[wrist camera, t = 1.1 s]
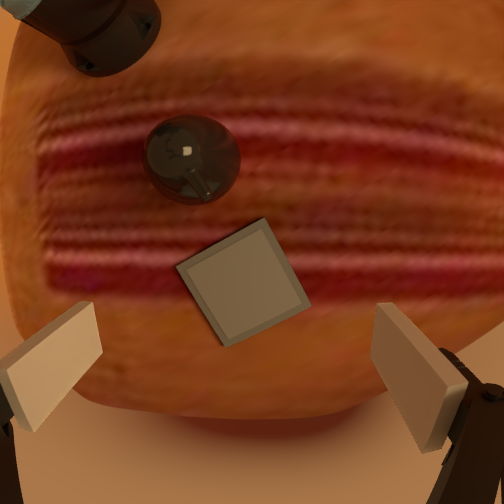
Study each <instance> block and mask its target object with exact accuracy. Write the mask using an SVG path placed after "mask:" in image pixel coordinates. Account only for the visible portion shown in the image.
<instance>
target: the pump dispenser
mask: <svg viewBox="0 0 504 504" xmlns="http://www.w3.org/2000/svg"><path fill="white" fill-rule="evenodd" d="M142 163H143V167H144V170H145V173H146V175H147V177H148V179H149V180H150V182H151V183H152V184H153V186H154V187H155V188H156V189H157V190H158V191H159V192H160V193H161V194H163V195H164V196H165V197H167V198H169V199H170V200H172V201H175V202H177V203H180V204H183V205H189V206H199V205H205V204H209V203H211V202H214V201H216V200H218V199H219V198H221V197H222V196H224V195H225V194H226V193H227V192H228V191H229V190H230V189H231V187H232V186H233V185H234V183H235V181H236V179H237V177H238V174H239V171H240V165H241V155H240V150H239V146H238V144H237V141H236V139H235V138H234V136H233V135H232V133H231V132H230V131H229V130H228V129H227V128H226V127H225V126H224V125H222V124H221V123H219V122H217V121H215V120H213V119H211V118H208V117H205V116H201V115H195V114H183V115H177V116H174V117H171V118H168V119H166V120H164V121H162V122H161V123H159V124H158V125H157V126H156V127H155V128H154V129H153V130H152V131H151V132H150V133H149V135H148V136H147V138H146V140H145V143H144V146H143V150H142Z"/></svg>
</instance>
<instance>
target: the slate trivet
mask: <svg viewBox="0 0 504 504" xmlns="http://www.w3.org/2000/svg"><path fill="white" fill-rule="evenodd" d="M176 268H177V270H178V271H179V273H180V275H181V276H182V278H183V280H184V282H185V283H186V285H187V287H188V288H189V290H190V292H191V293H192V295H193V296H194V298H195V300H196V301H197V303H198V305H199V306H200V308H201V310H202V311H203V313H204V314H205V316H206V318H207V319H208V321H209V322H210V324H211V326H212V327H213V329H214V330H215V332H216V333H217V335H218V336H219V338H220V340H221V341H222V343H223V344H224V346H225V347H229V346H231V345H233V344H235V343H237V342H239V341H242V340H244V339H246V338H248V337H250V336H252V335H254V334H256V333H259V332H261V331H263V330H265V329H267V328H269V327H271V326H273V325H275V324H277V323H279V322H281V321H283V320H285V319H287V318H289V317H291V316H293V315H295V314H297V313H299V312H301V311H303V310H305V309H307V308H309V307H311V306H312V305H311V303H310V301H309V299H308V297H307V295H306V294H305V292H304V290H303V288H302V286H301V284H300V282H299V280H298V278H297V277H296V275H295V273H294V271H293V269H292V267H291V265H290V263H289V262H288V260H287V258H286V256H285V254H284V252H283V250H282V249H281V247H280V245H279V243H278V241H277V239H276V237H275V236H274V234H273V232H272V230H271V228H270V226H269V225H268V223H267V221H266V219H265V217H264V218H262V219H260V220H258V221H256V222H254V223H253V224H251V225H249V226H247V227H245V228H243V229H242V230H240V231H238V232H236V233H234V234H232V235H231V236H229V237H227V238H225V239H223V240H222V241H220V242H218V243H216V244H214V245H213V246H211V247H209V248H207V249H205V250H204V251H202V252H200V253H198V254H196V255H195V256H193V257H191V258H189V259H188V260H186V261H184V262H182V263H180V264H179V265H177V266H176Z"/></svg>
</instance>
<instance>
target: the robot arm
mask: <svg viewBox="0 0 504 504" xmlns="http://www.w3.org/2000/svg"><path fill="white" fill-rule="evenodd" d="M0 5H1V7H2V8H4V9H5V10H7V11H8V12H9V13H11V14H12V15H13V17H14V18H15V19H18V20H20V21H22V22H24V23H26V24H28V25H29V26H31V27H33V28H35V29H36V30H38V31H40V32H41V33H43V34H45V35H47V36H48V37H50V38H52V39H53V40H55V41H57V42H58V43H60V45H61V47H62V49H63V50H64V52H65V54H66V56H67V58H68V60H69V62H70V63H71V64H72V65H73V66H74V67H75V68H76V69H78V70H79V71H81V72H83V73H84V74H87V75H89V76H94V77H102V76H109V75H112V74H115V73H118V72H120V71H122V70H124V69H126V68H128V67H129V66H131V65H132V64H134V63H135V62H136V61H138V60H139V59H140V58H141V57H142V56H143V55H144V54H145V53H146V52H147V51H148V50H149V48H150V47H151V46H152V44H153V43H154V41H155V39H156V37H157V35H158V33H159V30H160V26H161V13H160V10H159V8H158V6H157V5H156V3H155V1H154V0H0ZM102 353H103V351H102V346H101V342H100V337H99V332H98V327H97V322H96V317H95V312H94V306H93V302H84V301H80V302H78V303H77V304H75V305H74V306H73V307H71V308H70V309H68V310H67V311H66V312H64V313H63V314H61V315H60V316H59V317H57V318H56V319H54V320H53V321H52V322H50V323H49V324H47V325H46V326H45V327H43V328H42V329H41V330H39V331H38V332H37V333H35V334H34V335H33V336H31V337H30V338H28V339H27V340H26V341H24V342H23V343H22V344H21V345H19V346H18V347H17V348H16V349H14V350H13V351H11V352H10V353H9V354H7V355H6V356H5V357H3V358H2V359H1V360H0V504H24V503H23V498H22V493H21V488H20V482H19V476H18V469H17V462H16V455H15V446H14V434H13V427H12V424H11V422H10V419H11V418H12V417H13V416H15V418H16V420H17V422H18V424H19V426H20V427H21V428H23V429H26V430H28V431H30V432H33V433H34V432H35V431H36V430H37V428H38V427H39V426H40V425H41V424H42V423H43V421H44V420H45V419H46V418H47V417H48V415H49V414H50V413H51V412H52V411H53V409H54V408H55V407H56V406H57V405H58V404H59V402H60V401H61V400H62V399H63V398H64V396H65V395H66V394H67V393H68V392H69V391H70V389H71V388H72V387H73V386H74V385H75V384H76V382H77V381H78V380H79V379H80V378H81V377H82V376H83V374H84V373H85V372H86V371H87V370H88V369H89V368H90V366H91V365H92V364H93V363H94V362H95V361H96V360H97V359H98V357H99V356H100V355H101V354H102ZM370 359H371V360H372V362H373V364H374V366H375V367H376V369H377V371H378V373H379V374H380V376H381V378H382V380H383V382H384V383H385V385H386V387H387V389H388V391H389V392H390V394H391V396H392V398H393V400H394V402H395V403H396V405H397V407H398V409H399V411H400V413H401V415H402V417H403V418H404V420H405V422H406V424H407V426H408V428H409V430H410V432H411V434H412V435H413V437H414V439H415V441H416V443H417V445H418V447H419V449H420V451H421V453H422V454H423V453H427V452H431V451H435V450H439V449H442V446H443V444H444V442H445V440H446V438H447V436H448V437H449V439H450V440H451V442H452V445H451V447H450V449H449V451H448V453H447V455H446V457H445V459H444V461H443V463H442V465H443V467H442V469H441V472H440V474H439V476H438V479H437V481H436V483H435V486H434V488H433V490H432V492H431V494H430V497H429V499H428V501H427V503H426V504H494V502H495V498H496V494H497V490H498V486H499V481H500V478H501V497H502V504H504V388H503V387H502V386H499V385H496V384H491V383H486V384H482V383H481V382H480V380H479V379H478V378H477V377H476V376H475V375H474V374H473V373H472V372H471V371H470V370H469V369H468V368H467V367H465V365H464V364H463V363H462V362H460V360H459V359H458V358H457V357H456V356H455V355H454V354H453V353H452V352H450V351H448V350H446V349H444V348H439V349H438V348H437V347H436V346H435V345H434V344H433V343H432V342H431V341H430V340H429V339H428V338H427V337H426V336H425V335H424V334H423V333H422V332H421V331H420V330H419V329H418V328H417V327H416V326H415V325H414V324H413V323H412V322H411V321H410V320H409V319H408V318H407V317H406V316H405V315H404V314H403V313H402V312H401V311H400V310H399V309H398V308H397V307H396V306H395V305H394V304H393V303H392V302H390V303H377V306H376V315H375V323H374V330H373V337H372V344H371V351H370Z"/></svg>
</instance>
